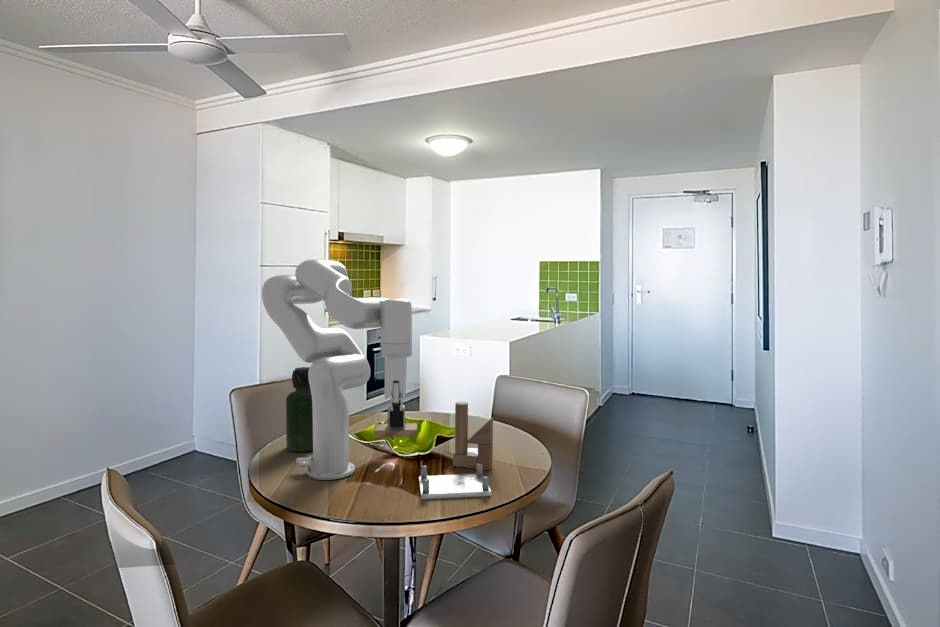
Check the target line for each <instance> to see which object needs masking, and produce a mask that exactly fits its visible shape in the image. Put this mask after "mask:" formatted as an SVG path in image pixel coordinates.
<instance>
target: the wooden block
mask: <svg viewBox="0 0 940 627" xmlns="http://www.w3.org/2000/svg"><path fill="white" fill-rule="evenodd" d="M454 406H455V407H454V408H455V409H454V410H455V414H454V418H455V420H454V430H455V432H454V453H453V454H452V466H453V467H454V466H456V468H457V467H458V468H464V467H465V469H466V468H467V469H473V468H474V469H475V470H476V468H477V463H482V464H483V471H491V468H493V458H494V457H493V454H494V453H493V449H494V448H493V444H494V443H493V441H494V439H493V438H494V437H493V436H494V417H491V418H490V419H489V420H488V421H487V422H485V423H484V424H483V425H482V426H481V427H480V428H479V429H478V430H477V431H476V432H475V433H474V434H473V435H471V437H469V424H468V423H469V403H468V402H465V401H458V402H455V404H454ZM468 444H473V445H474V444H475V445H477V448H478V454H476V453H474V452H468V448H469V445H468Z"/></svg>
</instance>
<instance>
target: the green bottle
mask: <svg viewBox="0 0 940 627" xmlns="http://www.w3.org/2000/svg"><path fill="white" fill-rule="evenodd" d="M309 368H310V367H309V366H308V367H307V366H304V367H295V368H294V370H292V374H291V381H292V382H291V383H292V387H293V388H294V389H295V390H293V391H291V392H290V393H289V394H288V395H287V396H286V399H285V408H286V409H285V410H286V412H285V414H286V415H285V416H286V417H285V418H286V419H285V420H286V424H285V426H286V449H287V450H288V451H290V452H294V453H306V452H313V410H312V395H311V389H310V384H309V379H308V371H309Z"/></svg>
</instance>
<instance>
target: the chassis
mask: <svg viewBox="0 0 940 627" xmlns="http://www.w3.org/2000/svg"><path fill="white" fill-rule="evenodd" d="M475 470H476V473H468V474H467V473H466V474H445V475H444V474H442V475H439V474H438V475H428V466H427V465H421V466H420V476H419V477H418V481H419V482H418V483H419V491H420V499H421V500H431V499H432V500H433V499H434V500H435V499H455V498H456V499H457V498H458V499H459V498H477V497H492V490H491V488H490V483H489V482H490V477H489V476H487V475H484V473H483V472H484V470H483V464H482V463H477V468H476V469H475Z"/></svg>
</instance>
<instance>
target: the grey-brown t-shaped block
mask: <svg viewBox="0 0 940 627" xmlns="http://www.w3.org/2000/svg"><path fill="white" fill-rule="evenodd" d="M405 407H406V405H405V404H403V405H402V410H403V427H400V428H391V427H390V411H391V404H388V406H387V423H378V424H377V423H376V425H375V428H374V437H375V438H387V437H388V438H389V437H415V436H416V437H417V436H418V423H416V422H413V423H412V422H411V423H408V422H407V423H405V422H406V420H405V418H406V416H405V415H406V413H405V412H406V408H405Z"/></svg>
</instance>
